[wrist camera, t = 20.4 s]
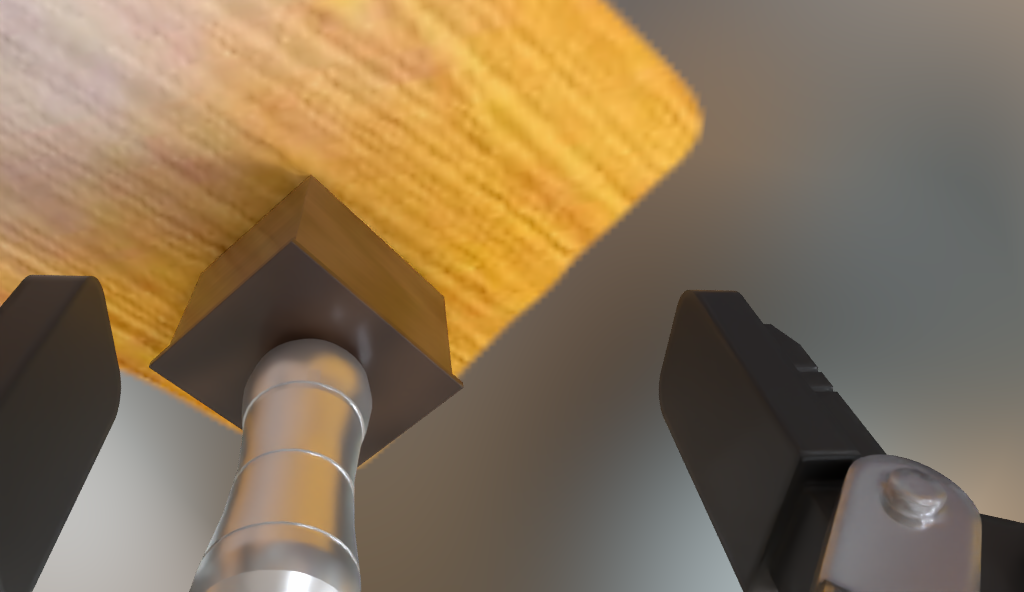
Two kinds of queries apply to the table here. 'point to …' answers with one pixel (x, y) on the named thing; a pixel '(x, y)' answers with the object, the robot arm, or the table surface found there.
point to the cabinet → (315, 314)
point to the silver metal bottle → (294, 477)
